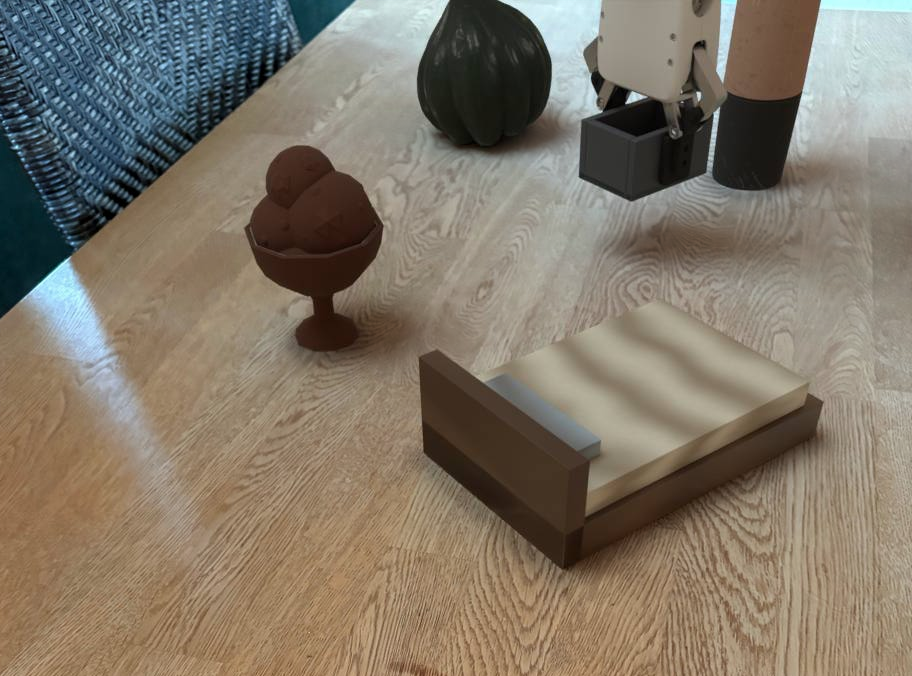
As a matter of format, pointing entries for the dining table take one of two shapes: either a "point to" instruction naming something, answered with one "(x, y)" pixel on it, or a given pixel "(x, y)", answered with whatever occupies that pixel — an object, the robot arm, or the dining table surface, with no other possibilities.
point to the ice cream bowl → (314, 239)
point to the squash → (483, 72)
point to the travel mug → (762, 90)
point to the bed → (561, 470)
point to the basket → (633, 149)
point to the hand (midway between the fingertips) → (642, 166)
